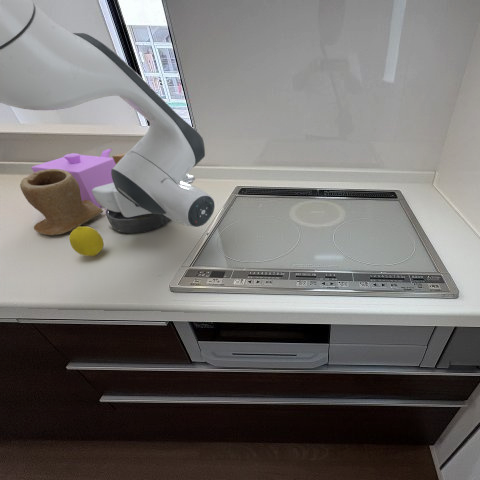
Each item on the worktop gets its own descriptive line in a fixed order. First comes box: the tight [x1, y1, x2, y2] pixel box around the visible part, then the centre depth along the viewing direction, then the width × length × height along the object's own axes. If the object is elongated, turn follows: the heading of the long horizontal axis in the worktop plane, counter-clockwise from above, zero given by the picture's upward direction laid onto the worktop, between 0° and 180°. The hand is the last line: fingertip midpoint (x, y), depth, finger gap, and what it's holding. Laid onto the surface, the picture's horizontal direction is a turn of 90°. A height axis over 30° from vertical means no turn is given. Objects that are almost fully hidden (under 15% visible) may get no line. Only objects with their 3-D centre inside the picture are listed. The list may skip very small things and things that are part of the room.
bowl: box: [105, 209, 171, 234], centre depth 75 cm, size 15×15×4 cm
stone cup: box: [19, 169, 104, 236], centre depth 69 cm, size 15×12×15 cm
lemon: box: [68, 225, 104, 257], centre depth 60 cm, size 6×6×8 cm
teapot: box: [30, 148, 116, 208], centre depth 83 cm, size 15×25×14 cm, turn 171°
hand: (129, 177), depth 68 cm, fingers closed on sponge wand, 3 cm apart
